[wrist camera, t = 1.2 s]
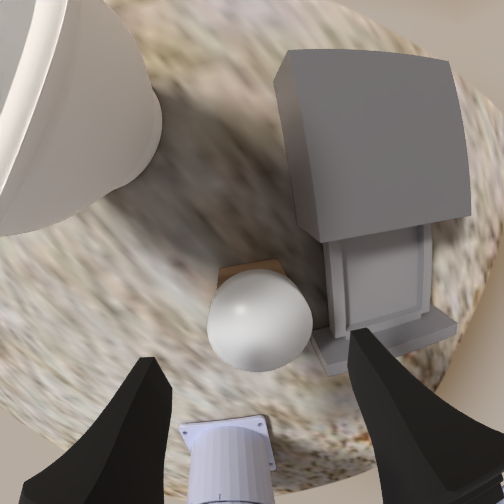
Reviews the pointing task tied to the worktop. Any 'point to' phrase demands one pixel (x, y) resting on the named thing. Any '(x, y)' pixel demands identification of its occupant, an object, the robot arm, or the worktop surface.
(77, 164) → the jar
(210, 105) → the worktop surface
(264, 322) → the white dome cap
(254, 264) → the walnut block
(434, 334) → the grey drawer
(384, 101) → the block
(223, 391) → the worktop surface
